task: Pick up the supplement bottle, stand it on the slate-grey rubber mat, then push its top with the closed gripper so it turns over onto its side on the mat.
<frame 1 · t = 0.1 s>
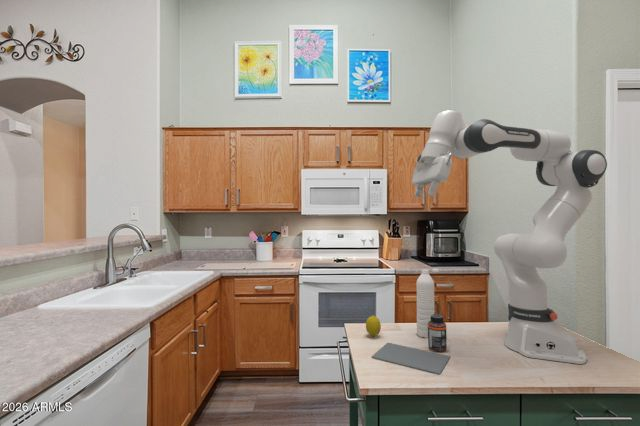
hand: (423, 195, 107), 52 cm above the counter, tool tilted 20°, fingers open, 8 cm apart
water bottle: (428, 335, 123), on the counter
supplement bottle: (437, 349, 109), on the counter
lemon: (373, 337, 121), on the counter
mat: (410, 357, 103), on the counter
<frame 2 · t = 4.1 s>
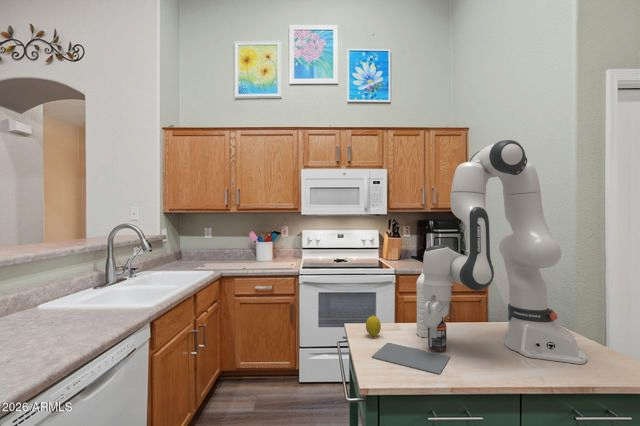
hand: (437, 333, 110), 5 cm above the counter, tool pointing down, fingers closed on supplement bottle, 6 cm apart
supplement bottle: (437, 349, 109), on the counter, touching gripper
everything else where it was.
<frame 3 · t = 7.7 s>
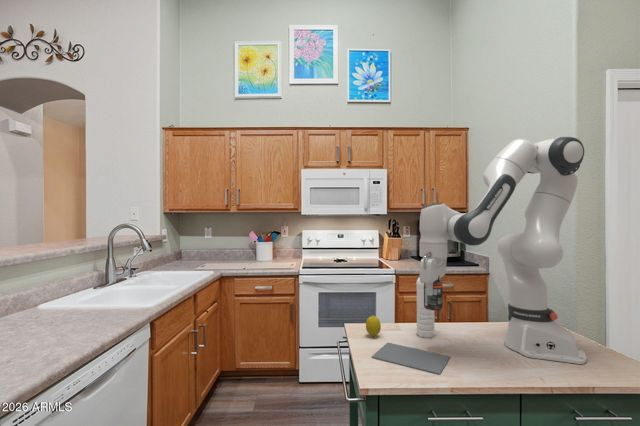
hand: (433, 292, 108), 19 cm above the counter, tool pointing down, fingers closed on supplement bottle, 6 cm apart
supplement bottle: (433, 309, 108), point 14 cm above the counter, touching gripper
everything else where it was.
when the fingers open (7 cm above the counter, at t = 11.3 s): supplement bottle stays where it is, resting on mat.
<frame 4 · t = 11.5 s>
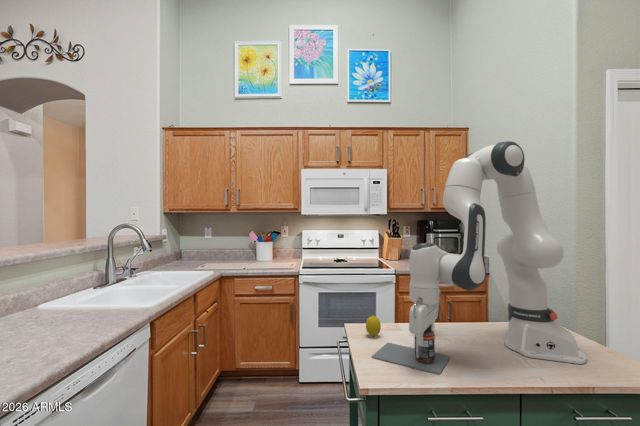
hand: (424, 340, 100), 7 cm above the counter, tool pointing down, fingers open, 8 cm apart
supplement bottle: (424, 360, 100), resting on mat
everything else where it was.
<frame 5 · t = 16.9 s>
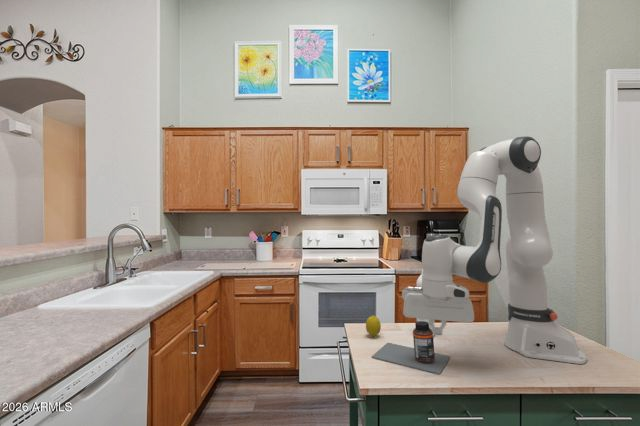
hand: (437, 334, 98), 9 cm above the counter, tool pointing down, fingers closed
supplement bottle: (424, 360, 100), resting on mat, touching gripper
everything else where it was.
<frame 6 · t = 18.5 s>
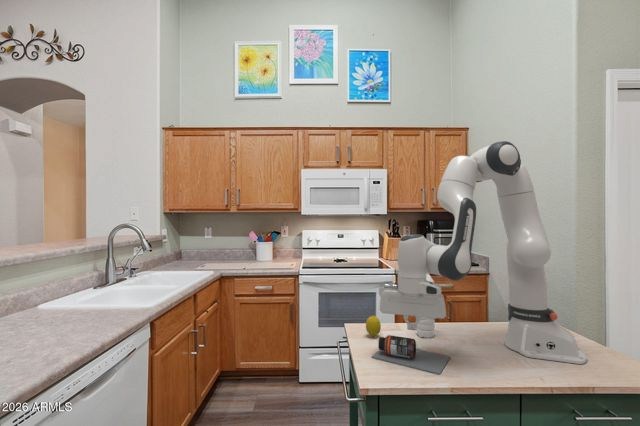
hand: (412, 329, 102), 9 cm above the counter, tool pointing down, fingers closed
supplement bottle: (415, 349, 101), point 3 cm above the counter, touching mat
everything else where it was.
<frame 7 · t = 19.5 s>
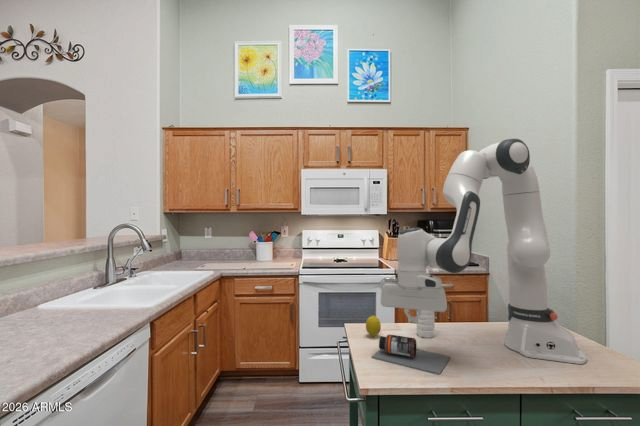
hand: (413, 322, 102), 11 cm above the counter, tool pointing down, fingers closed
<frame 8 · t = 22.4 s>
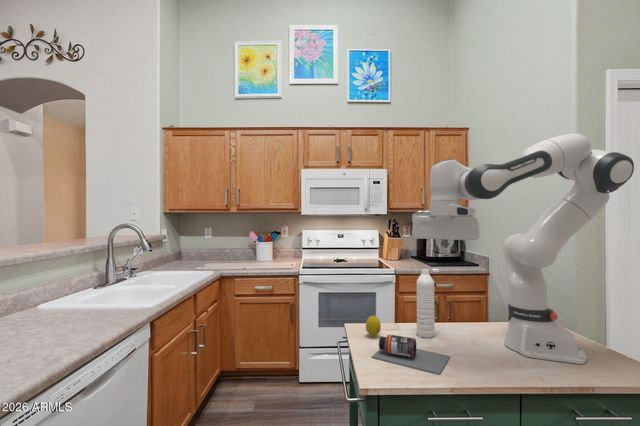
hand: (444, 253, 103), 33 cm above the counter, tool pointing down, fingers closed
nothing on the counter moved.
at the end: supplement bottle tilted 90°; supplement bottle inside the target area (3.3 cm from its centre), point 3.4 cm above the counter; supplement bottle touching mat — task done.
